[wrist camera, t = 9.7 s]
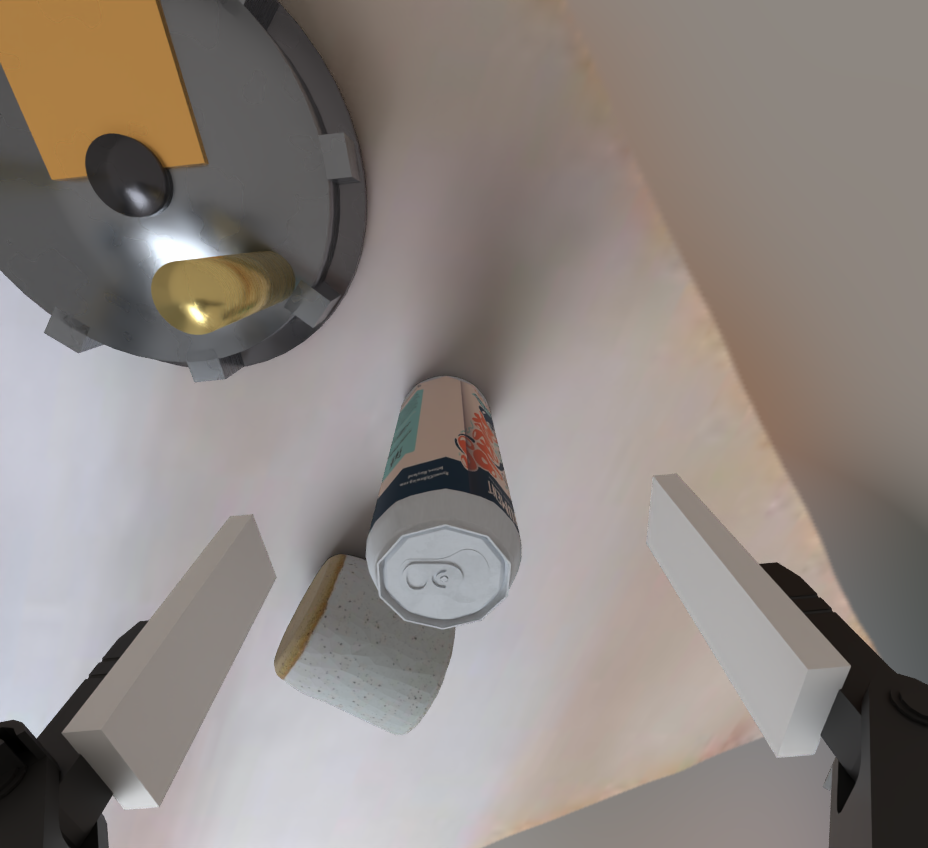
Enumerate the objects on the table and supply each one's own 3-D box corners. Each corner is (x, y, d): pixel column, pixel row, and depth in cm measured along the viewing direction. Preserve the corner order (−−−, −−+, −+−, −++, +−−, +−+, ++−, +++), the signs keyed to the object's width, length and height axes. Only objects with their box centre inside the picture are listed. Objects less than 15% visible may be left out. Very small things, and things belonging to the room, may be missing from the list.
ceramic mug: (343, 521, 26) (303, 631, 19) (458, 573, 28) (460, 690, 21) (277, 627, 30) (224, 752, 23) (383, 666, 32) (363, 791, 25)
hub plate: (42, 356, 21) (33, 358, 21) (-116, -105, 14) (-134, -115, 14) (370, 375, 22) (368, 378, 22) (362, -47, 15) (359, -56, 15)
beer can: (486, 454, 24) (519, 638, 13) (401, 453, 24) (364, 639, 13) (492, 373, 22) (535, 511, 11) (400, 371, 22) (354, 510, 11)
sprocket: (251, 427, 22) (155, 524, 15) (-99, 213, 18) (-480, 201, 10) (437, 154, 17) (430, 100, 10) (25, -236, 13) (-516, -833, 6)
